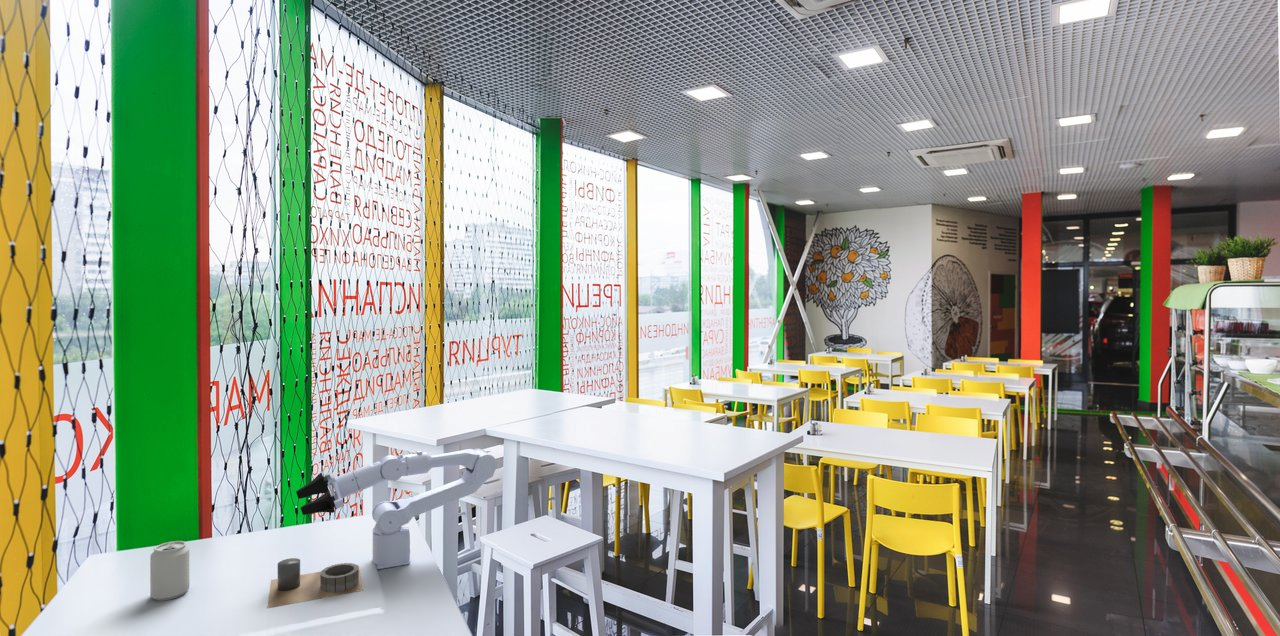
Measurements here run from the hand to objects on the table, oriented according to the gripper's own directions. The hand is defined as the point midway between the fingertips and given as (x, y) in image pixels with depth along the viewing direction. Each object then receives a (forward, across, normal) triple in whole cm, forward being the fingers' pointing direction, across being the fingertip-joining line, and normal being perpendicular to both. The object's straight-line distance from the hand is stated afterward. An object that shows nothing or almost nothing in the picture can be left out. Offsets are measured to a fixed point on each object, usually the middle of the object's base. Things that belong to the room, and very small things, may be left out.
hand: (299, 503), depth 156 cm
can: (+31, -2, +13) cm, 34 cm away
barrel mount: (+2, +13, +17) cm, 21 cm away
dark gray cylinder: (+8, +10, +15) cm, 20 cm away
